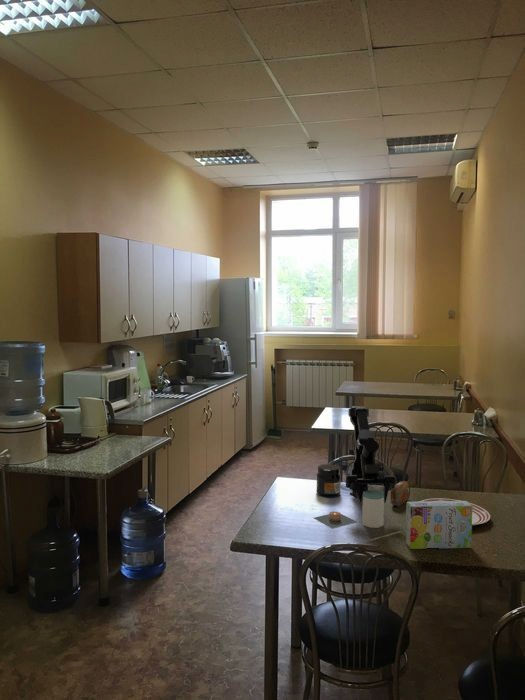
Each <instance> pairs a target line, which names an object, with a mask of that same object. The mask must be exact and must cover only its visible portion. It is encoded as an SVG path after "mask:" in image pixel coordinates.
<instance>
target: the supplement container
mask: <svg viewBox="0 0 525 700" xmlns="http://www.w3.org/2000/svg"><path fill="white" fill-rule="evenodd" d="M340 472H341V467H340V466H339V465H336V464H330V463H329V464H328V463H327V464H320V465H318V466H317V473H316V489H315V490H316V494H317V495H318V496H320V497H324V498H335V497H338V496H340V494H341V479H342V478H341V477H342V476H341V473H340Z"/></svg>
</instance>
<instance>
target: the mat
mask: <svg viewBox="0 0 525 700" xmlns="http://www.w3.org/2000/svg"><path fill="white" fill-rule="evenodd" d="M313 519H314V520H316V521H317V522H319V523H320V524H321V523H322V524H323V525H325V526H327V527H329V528H331V529H332V530H333V529H337V528H340V527H343V526H347V525H348V526H349V525H352V524H353V525H354V524H356V523H358V521H356V520H354V519H352V518H350V517H348V516H346V515H345V514H342V513H341V520H340V521H337V522H334V521H331V520H329V513H327V514H324V515H319V516H315V517H313Z"/></svg>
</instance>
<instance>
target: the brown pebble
mask: <svg viewBox="0 0 525 700" xmlns="http://www.w3.org/2000/svg"><path fill="white" fill-rule="evenodd" d="M328 514H329V520H331V521H334V522H337V521H340V520H341V514H342V513H341V512H339V511H336V510H335V511H329V513H328Z"/></svg>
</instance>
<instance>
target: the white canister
mask: <svg viewBox="0 0 525 700" xmlns="http://www.w3.org/2000/svg"><path fill="white" fill-rule="evenodd" d="M384 507H385V503H384V492H382V491H378V490H373V489H371V490H369V489H368V491H364V492H363V497H362V510H361V513H362V515H361V516H362V520H361V522H362V525H363V526H365V527H368V528H376V529H377V528H378V529H379V528H381V527H383V526H384V518H385V517H384V516H385V514H384V513H385V510H384V509H385V508H384Z"/></svg>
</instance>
